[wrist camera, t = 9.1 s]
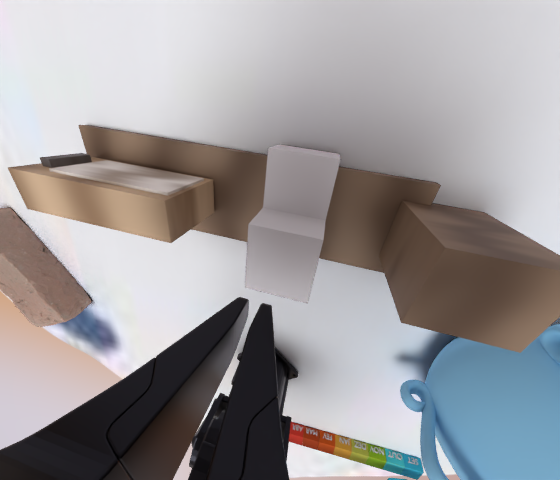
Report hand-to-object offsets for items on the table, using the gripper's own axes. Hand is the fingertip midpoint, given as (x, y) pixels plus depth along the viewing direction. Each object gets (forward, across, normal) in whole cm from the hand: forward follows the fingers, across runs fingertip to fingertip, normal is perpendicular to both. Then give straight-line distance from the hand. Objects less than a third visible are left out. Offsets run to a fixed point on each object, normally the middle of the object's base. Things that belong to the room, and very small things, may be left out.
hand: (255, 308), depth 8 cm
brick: (+12, +36, +16) cm, 41 cm away
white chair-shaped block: (+11, 0, 0) cm, 11 cm away
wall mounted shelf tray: (+11, +14, 0) cm, 17 cm away
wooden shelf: (+12, +3, 0) cm, 12 cm away
